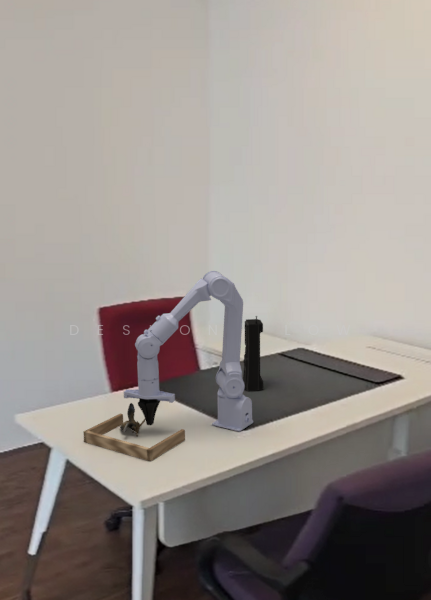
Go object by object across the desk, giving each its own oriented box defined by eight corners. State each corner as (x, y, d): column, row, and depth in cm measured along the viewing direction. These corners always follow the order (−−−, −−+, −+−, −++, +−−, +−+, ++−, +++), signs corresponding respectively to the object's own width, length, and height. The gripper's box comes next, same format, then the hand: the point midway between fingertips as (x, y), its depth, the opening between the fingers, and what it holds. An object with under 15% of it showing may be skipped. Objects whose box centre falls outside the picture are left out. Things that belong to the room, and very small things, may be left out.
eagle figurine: (154, 423, 183) (139, 405, 189) (138, 415, 178) (123, 397, 184) (137, 445, 183) (123, 426, 189) (120, 437, 178) (106, 418, 184)
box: (185, 440, 179) (184, 429, 178) (150, 461, 166) (150, 450, 166) (120, 423, 191) (120, 413, 190) (84, 441, 179) (83, 431, 178)
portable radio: (242, 383, 223) (241, 311, 218) (259, 382, 223) (259, 311, 218) (245, 391, 215) (244, 317, 210) (263, 390, 216) (263, 316, 210)
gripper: (178, 375, 183) (179, 421, 185) (130, 371, 187) (132, 416, 190) (169, 383, 176) (170, 430, 179) (119, 378, 180) (121, 425, 183)
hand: (150, 424), depth 184 cm, fingers closed
